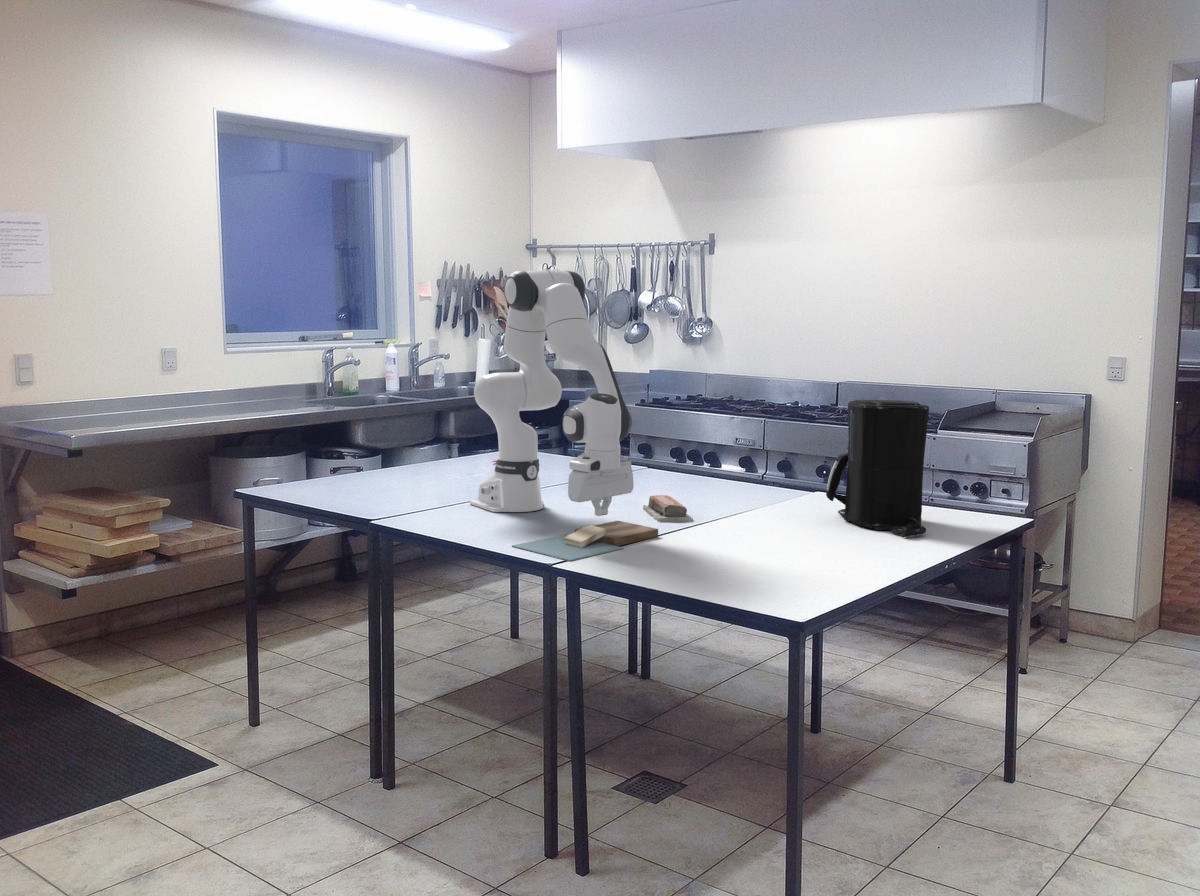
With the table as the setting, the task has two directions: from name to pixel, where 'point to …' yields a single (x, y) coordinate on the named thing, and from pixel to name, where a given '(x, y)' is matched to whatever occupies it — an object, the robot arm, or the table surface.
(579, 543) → the birch block
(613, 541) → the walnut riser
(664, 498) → the packaged product
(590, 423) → the robot arm
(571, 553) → the rubber mat
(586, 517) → the table surface
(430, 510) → the table surface
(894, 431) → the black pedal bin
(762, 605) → the table surface
